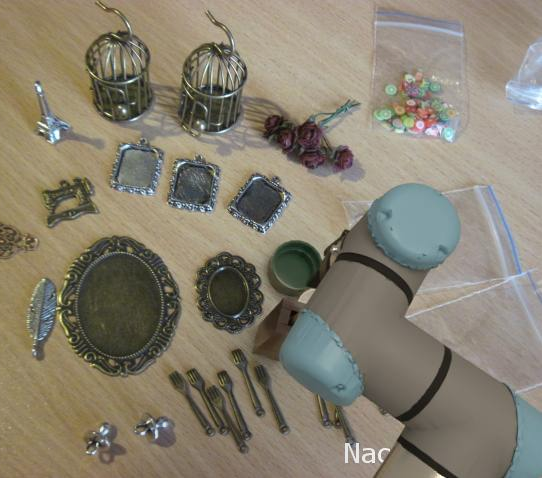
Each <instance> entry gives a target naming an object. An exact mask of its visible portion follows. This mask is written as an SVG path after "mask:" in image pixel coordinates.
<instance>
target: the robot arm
mask: <svg viewBox="0 0 542 478" xmlns="http://www.w3.org/2000/svg"><path fill="white" fill-rule="evenodd" d="M461 234H462V225H461V219H460V216H459V213H458V211H457V208H456V207H455V205H454V204H453V203H452V202H451V200H450V199H449V198H448V197H447V196H446V195H445V194H443V193H442V192H440V190H438V189H436V188H434V187H432V186H430V185H427V184H424V183H417V182H407V183H401V184H397V185H396V186H394V187H392V188H390V189H389V190H387V191H386V192H385V193H384V194H383V195H381V196H380V197H379V198H375V199H374V200H373V202H372V203H371V205H370V207H369V208H368V210H367V211H366V212H365V213H364V214H363V215H362V216H361V218H360V219H359V220H358V221H357V222H356V223H355V224H354V226H352V228H350V229H346V228H344V230H343V231H342V232H341V234H340V236H338V238H336V240H334V241H333V242H332V243H330V244H329V245H328V246H327V247H325V249H324V250H323V258H322V262H321V264H320V269H319V270H318V271H317V272H316V273H315V274H314V275H313V276H312V277H311V278H310V279H309V280H308V281H307V284H306V286H307V287H310V288H311V289H316V290H315V291H314V293H313V294H312V296H311V297H310V299H309V300H308V302H307V303H306V305H305V306H304V308H303V309H302V310H301V311H300V313H299V314H298V316H297V317H298V318H297V320H296V322H295V323H294V325H293V327H292V329H291V330H290V332H289V334H288V335H287V337H286V339H285V341H284V342H283V344H282V346H281V349H280V353H279V358H280V361H279V362H280V365H281V366H282V368H283V370H284V371H285V372H286V373H287V374H288V375H289V376H290V377H291V378H292V379H293V380H294V381H296V383H298V384H299V385H301V386H302V387H303V388H305V389H306V390H307V391H309V393H310V392H311V393H312V394H315V395H317V396H318V397H319V398H320V399H322V400H324V401H326V402H328V403H330V404H332V405H335V406H338V407H350V406H351V405H353V404H354V403H355V402H356V400H357V399H358V398H360V397H361V396H363V397H364V398H365V399H366V400H368V401H370V402H371V403H372V404H374V405H375V406H377V407H378V408H379V409H381V410H382V411H384V412H385V413H387V414H388V415H389V416H391V417H392V418H393V419H395V420H396V421H398V422H400V423H401V424H402V425H403V426H404V427H403V429H402V431H401V432H400V434H399V435H398V437H397V439H396V440H395V442H394V444H393V446H392V447H391V449H390V450H389V452H388V454H387V455H386V457H385V458H384V459H383V461H382V463H381V464H380V466H379V467H378V469H377V470H376V472H375V473H374V475H373V477H372V478H541V477H542V411H540V410H539V409H538V408H537V407H535V406H534V405H532V404H531V403H530V402H528V401H527V400H526V399H524V398H523V397H521V396H520V395H518V393H516V391H515V390H513V389H512V388H511V386H510V384H507V383H505V382H503V381H499V380H498V379H497V378H496V377H494V376H492V375H490V374H489V373H488V372H486V371H485V370H483V369H482V368H480V367H478V366H477V365H475V364H474V363H472V362H471V361H470V360H468V359H466V358H465V357H463V356H462V355H460V354H459V353H457V352H456V351H454V350H453V349H452V348H450V347H448V346H446V345H445V344H444V343H443V342H441V341H440V340H438V339H437V338H435V337H434V336H433V335H431V334H430V333H428V332H427V331H425V330H424V329H422V328H420V327H419V326H417V325H416V324H415V323H414V322H412V321H410V320H409V319H408V318H407V317H406V314H407V312H408V310H409V308H410V306H411V304H412V303H413V300H414V298H415V296H416V295H417V293H418V291H419V289H420V288H421V286H422V284H423V283H424V281H425V279H426V278H427V276H428V274H429V273H430V271H431V270H433V269H436V268H438V267H439V266H440V265H443V264H444V262H445V261H446V259H448V258H449V257H450V256H451V255H452V254H453V253H454V252H455V251H456V248H457V247H458V244H459V242H460V239H461Z"/></svg>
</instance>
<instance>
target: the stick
mask: <svg viewBox="0 0 542 478" xmlns="http://www.w3.org/2000/svg"><path fill="white" fill-rule="evenodd" d="M299 313H300V312H298V313H297V314H296V315H295V316H294V317H293V318H291V319H290V320H289V323H288V324H289V326H292V327H293V325H294V323H295V322H296V320H297V318H298V317H297V316H298V314H299Z"/></svg>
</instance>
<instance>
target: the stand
mask: <svg viewBox="0 0 542 478" xmlns="http://www.w3.org/2000/svg"><path fill="white" fill-rule="evenodd" d="M305 305H306V304H305V303H302V302H298V301H297V300H295V299H292V298H289V297H286V296H285V297H283V298H282V299H281V300H280V301H279V302H278V303H277V305H276V306H275V307H274V308H273V309H272V310H271V311H270V312H269V313H268V314H267V315H266V317H264V319H263V320H262V321H261V322H260V323H259V324H258V327H257V331H256V335H255V339H254V342H253V347H252V350H251V353H252V354H254V355H258V356H262V357H264V358H268V359H271V360H274V361H278V362H280V358H279V353H280V349H281V346H282V344H283V342H284V341H285V339H286V337H287V335H288V334H289V332H290V330H291V329H292V326H289V324H288V323H289V320H290V319H291V318H293V317H294V316H295V315H296V314H297V313H298V312H300V311H301V310H302V309H303V308H304V306H305Z"/></svg>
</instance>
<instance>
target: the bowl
mask: <svg viewBox="0 0 542 478" xmlns="http://www.w3.org/2000/svg"><path fill="white" fill-rule="evenodd" d="M322 261H323V258H322V255H321V254H320V252H319V251H318V250H317V248H316V247H315V246H313V245H312V244H310V243H309V242H307V241H304V240H300V239H291V240H288V241H285V242H283V243H282V244H281V245H279V246H278V247H277V248H276V250H275V252H273V255H272V256H271V258H270V259H269V261H268V265H267V277H268V279H269V282H270V284H271V285H272V286H273V287H274V289H276V290H277V291H278V292H280V293H281V294H283V295H286V296H291V297H300V296H301V295H302V294H303V293H304V292H306V291H308V290H311V289H312V288H310V287H307V286H306V284H307V281H308V280H309V279H310V278H311V277H312V276H313V275H314V274H315V273H316V272H317V271H318V270H319V269H320V264H321V262H322Z"/></svg>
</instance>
